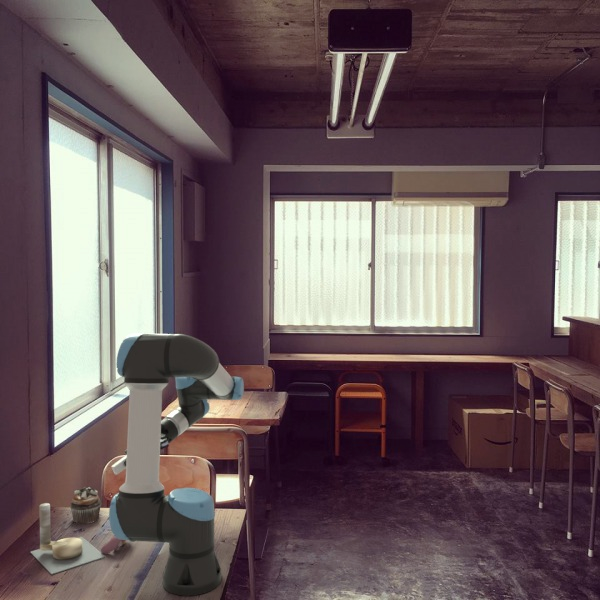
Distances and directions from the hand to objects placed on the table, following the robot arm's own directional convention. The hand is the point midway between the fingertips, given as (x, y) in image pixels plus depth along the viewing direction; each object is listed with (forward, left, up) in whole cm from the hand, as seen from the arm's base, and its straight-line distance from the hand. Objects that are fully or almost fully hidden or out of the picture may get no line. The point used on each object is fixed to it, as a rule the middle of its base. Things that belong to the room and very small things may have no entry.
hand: (114, 470), depth 182 cm
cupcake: (+22, 0, -22) cm, 31 cm away
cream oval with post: (+2, +15, -21) cm, 26 cm away
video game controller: (-4, +1, -22) cm, 22 cm away
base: (+1, +14, -22) cm, 26 cm away
